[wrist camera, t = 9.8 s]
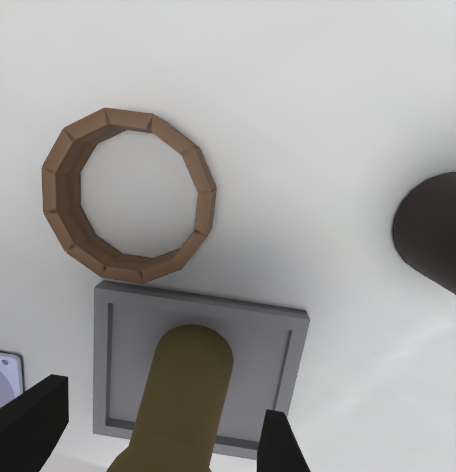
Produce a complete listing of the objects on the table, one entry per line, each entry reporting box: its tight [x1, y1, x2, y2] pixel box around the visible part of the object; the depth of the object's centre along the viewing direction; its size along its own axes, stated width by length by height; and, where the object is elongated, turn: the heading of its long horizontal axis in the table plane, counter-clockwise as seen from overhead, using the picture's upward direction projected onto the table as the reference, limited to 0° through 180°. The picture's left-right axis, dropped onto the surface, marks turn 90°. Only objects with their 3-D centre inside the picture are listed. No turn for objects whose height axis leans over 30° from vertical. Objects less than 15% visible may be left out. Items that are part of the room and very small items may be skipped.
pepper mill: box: [107, 324, 234, 472], centre depth 16 cm, size 6×6×11 cm
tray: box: [93, 281, 310, 460], centre depth 21 cm, size 15×13×1 cm
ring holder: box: [42, 108, 217, 284], centre depth 17 cm, size 10×10×2 cm
